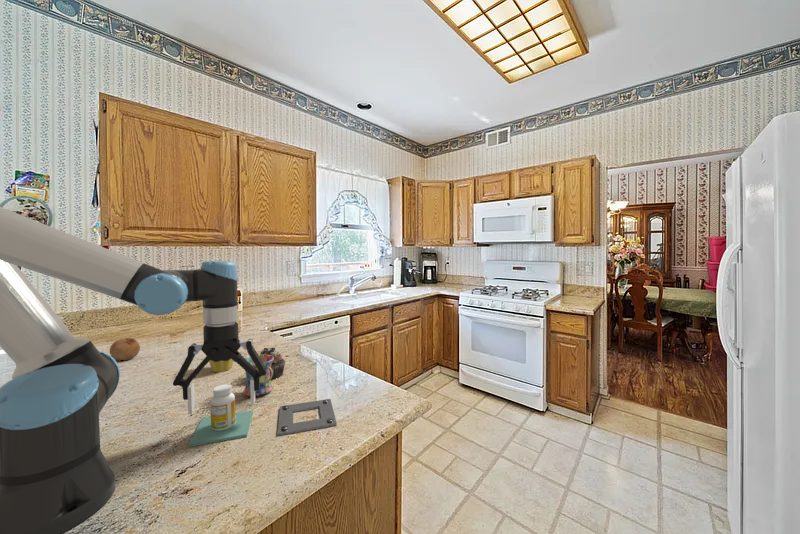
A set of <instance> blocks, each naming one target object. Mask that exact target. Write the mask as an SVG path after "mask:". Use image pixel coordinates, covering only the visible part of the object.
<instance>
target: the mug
mask: <svg viewBox="0 0 800 534" xmlns="http://www.w3.org/2000/svg"><path fill="white" fill-rule="evenodd" d="M258 355H259V357H260V359H261V360H262V362H263V364H264V365H265V367H266V369H267V372H266V375H264V376H261V377H260V378H259V383H260V386H259V390H257V391H255V397H260V396H263V395H267V394H269V393H271V391H272V390H273V388H274V385H273V384H272V380H271V379H272V376H273V370H272V368H271V365H272V362H273V360H274V357H273V356H271V355H260V354H258ZM244 358H245V359H246V360H247V361H248V362H249V363H250V364H251V365H252V366H253V367H254V368H255V369H257V370H258V368H257V367H256V365H255V364H254V362H253V360H252V359H251V357H250V356H247V357H244ZM244 371H245V370H244ZM258 371H259V370H258ZM270 372H271V375H270ZM245 376H246V377H245V378H246V379H245V380H246V383H245V387H244V390H243V394H244V395H245V396H247V397H251V390H250V380H251V377H252V376H251V375H250V374H249V373H247V372H246V371H245Z"/></svg>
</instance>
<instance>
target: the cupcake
mask: <svg viewBox="0 0 800 534" xmlns="http://www.w3.org/2000/svg"><path fill="white" fill-rule="evenodd" d="M259 355H271V356H273V357H274V360H273V362H272V365H271V368H272V370H273V376H272V379H274V380H276V378H277V379H279V377H280V376H281V377H283V375H284V370H285V364H286V360H285V359H284V358H283V355H282V353H281V352H279V351H278V350H277V349H276V347H271V348H267V347H265V348H263V349H262V350H261V352H260V353H259ZM270 375H271V372H270ZM281 377H280V378H281ZM272 379H271V380H270V381H273V380H272Z"/></svg>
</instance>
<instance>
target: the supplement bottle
mask: <svg viewBox="0 0 800 534" xmlns="http://www.w3.org/2000/svg"><path fill="white" fill-rule="evenodd" d="M232 386H233V385H231V384H220V385H217V386H215V387H214V388H213V391H212V394H213V396H212V397H211V399H210V402H209V403H210V404H209V405H210V417H211V428H212V430H215V431H222V430H226V429H228V428H230V427H232V426H233V425H234V424H235V422H236V416H235V413H236V396H235V394H234V393H232V390H233V388H232Z"/></svg>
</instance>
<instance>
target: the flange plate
mask: <svg viewBox="0 0 800 534" xmlns="http://www.w3.org/2000/svg"><path fill="white" fill-rule="evenodd" d="M316 409H317V410H318V409H319V414H320V418H316V419H312V420H311V419H310V420H304V421H298V422H294V413H297V412H302V411H303V412H304V411H309V410H316ZM334 411H335V410H334V407H333V405H332V399H331V398H326V399H320V400H313V401H307V402H300V403H299V402H298V403H293V404H287V405H285V404H284V405H280V406H279V415H278V416H279V417H278V425H277V436H278V437H279V436H283V435H289V434H294V433H301V432H306V431H312V430H318V429H323V428H324V429H325V428H330V427H336V426H337V419H336V415H335V412H334Z"/></svg>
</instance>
